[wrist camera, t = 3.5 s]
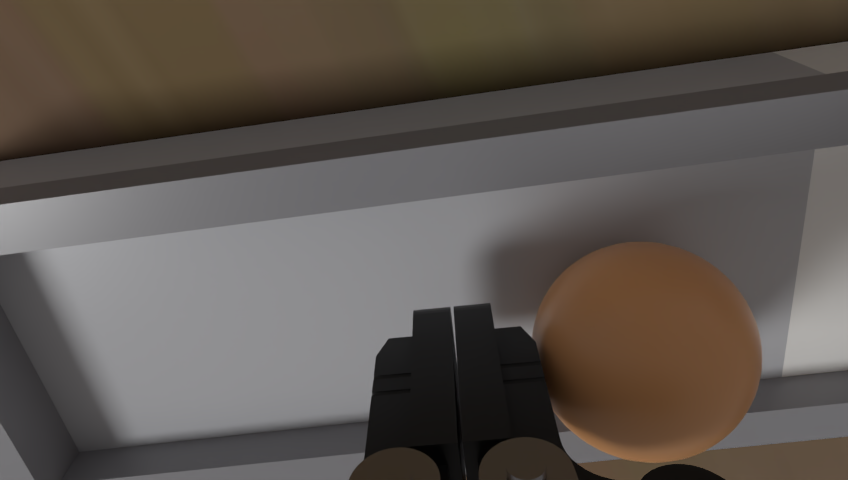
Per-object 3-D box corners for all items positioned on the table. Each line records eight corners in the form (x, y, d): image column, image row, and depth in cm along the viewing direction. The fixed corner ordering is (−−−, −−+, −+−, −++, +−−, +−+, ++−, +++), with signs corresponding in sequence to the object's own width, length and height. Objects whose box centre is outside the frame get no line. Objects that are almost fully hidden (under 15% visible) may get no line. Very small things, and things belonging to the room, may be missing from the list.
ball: (498, 229, 12) (574, 350, 9) (690, 189, 13) (836, 292, 9) (514, 385, 14) (581, 536, 11) (681, 347, 15) (799, 482, 11)
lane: (-40, 166, 14) (-192, 249, 11) (1634, -70, 12) (2134, -62, 9) (93, 427, 18) (12, 553, 15) (1401, 285, 16) (1684, 394, 12)
